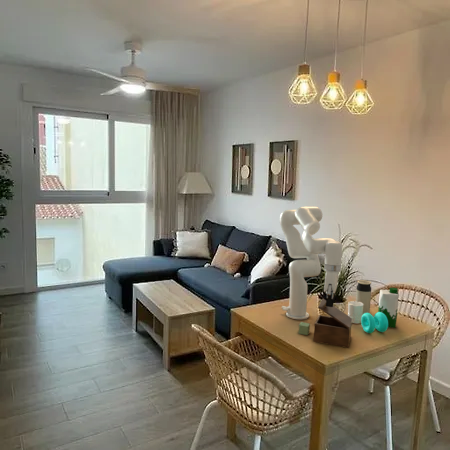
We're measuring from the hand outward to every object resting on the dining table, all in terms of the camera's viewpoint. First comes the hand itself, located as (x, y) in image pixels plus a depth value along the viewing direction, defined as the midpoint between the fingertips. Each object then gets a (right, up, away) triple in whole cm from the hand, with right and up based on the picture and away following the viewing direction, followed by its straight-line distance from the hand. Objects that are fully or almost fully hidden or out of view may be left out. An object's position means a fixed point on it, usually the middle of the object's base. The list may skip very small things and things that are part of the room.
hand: (330, 304), depth 184 cm
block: (-11, -16, +9) cm, 21 cm away
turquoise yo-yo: (+25, -16, +11) cm, 32 cm away
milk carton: (+35, -15, +21) cm, 44 cm away
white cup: (+20, -15, +25) cm, 35 cm away
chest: (+1, -17, +2) cm, 17 cm away
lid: (+2, -4, 0) cm, 5 cm away
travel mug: (+29, -13, +40) cm, 51 cm away
